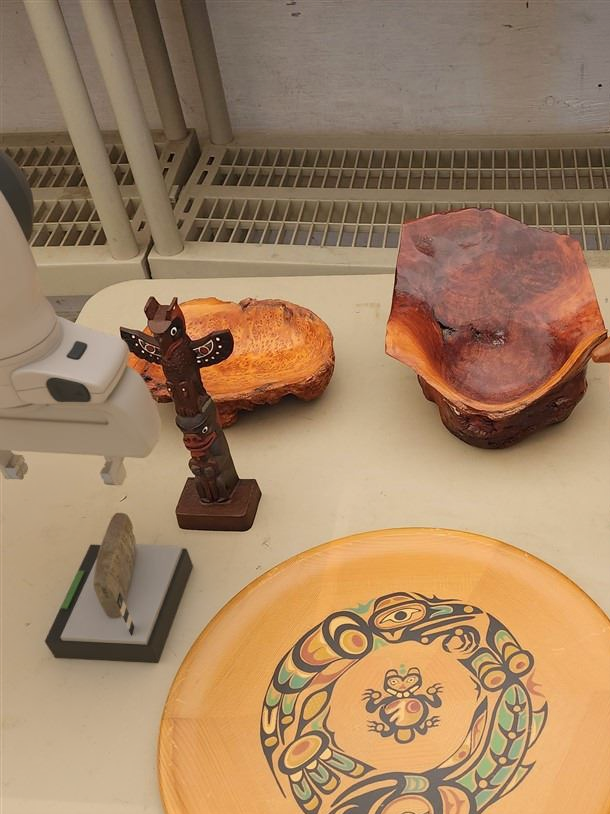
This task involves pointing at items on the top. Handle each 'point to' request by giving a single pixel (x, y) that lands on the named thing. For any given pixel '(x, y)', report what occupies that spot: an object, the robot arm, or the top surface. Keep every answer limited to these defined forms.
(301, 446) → the top surface
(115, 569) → the brown stone with scale
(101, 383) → the robot arm
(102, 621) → the scale
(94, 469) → the top surface
